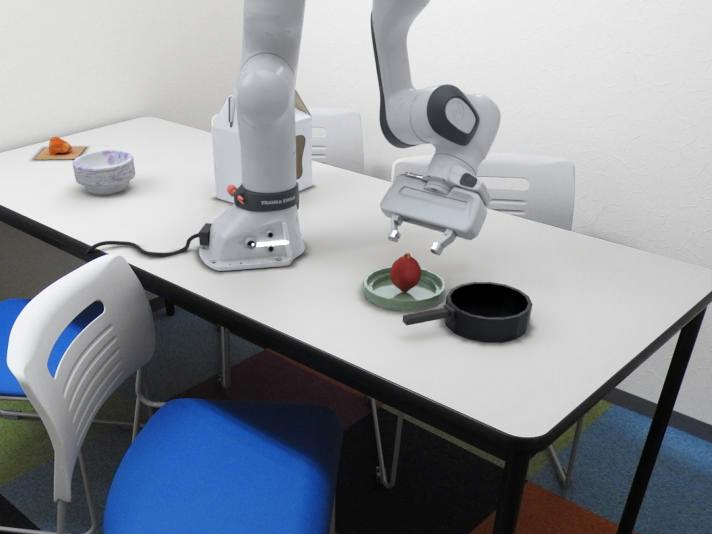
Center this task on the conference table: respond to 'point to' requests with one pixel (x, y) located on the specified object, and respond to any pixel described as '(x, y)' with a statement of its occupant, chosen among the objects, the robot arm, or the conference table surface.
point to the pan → (481, 312)
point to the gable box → (230, 149)
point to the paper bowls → (104, 171)
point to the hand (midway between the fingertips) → (413, 246)
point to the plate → (389, 296)
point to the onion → (405, 273)
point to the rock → (60, 150)
